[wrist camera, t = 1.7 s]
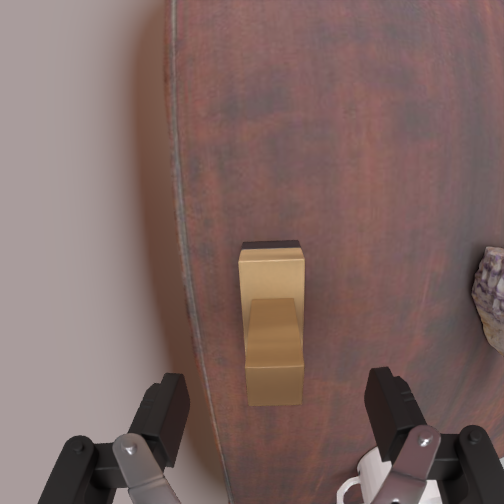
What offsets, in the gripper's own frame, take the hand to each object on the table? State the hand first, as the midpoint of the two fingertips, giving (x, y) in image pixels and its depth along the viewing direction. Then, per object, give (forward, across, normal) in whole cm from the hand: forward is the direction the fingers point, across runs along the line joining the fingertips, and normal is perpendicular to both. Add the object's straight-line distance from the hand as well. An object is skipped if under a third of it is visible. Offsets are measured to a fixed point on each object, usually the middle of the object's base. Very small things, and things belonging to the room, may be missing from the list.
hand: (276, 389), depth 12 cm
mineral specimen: (+10, -20, +1) cm, 23 cm away
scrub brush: (+10, 0, 0) cm, 10 cm away
